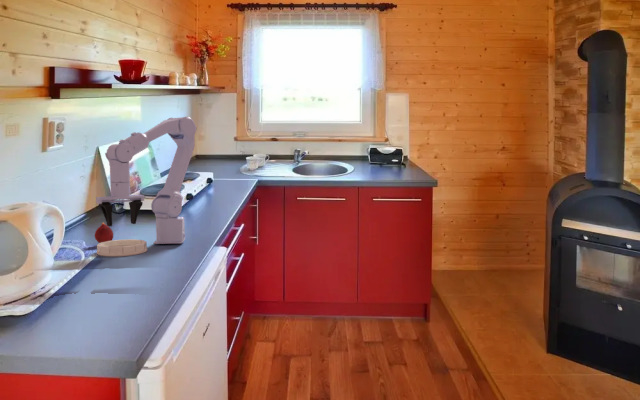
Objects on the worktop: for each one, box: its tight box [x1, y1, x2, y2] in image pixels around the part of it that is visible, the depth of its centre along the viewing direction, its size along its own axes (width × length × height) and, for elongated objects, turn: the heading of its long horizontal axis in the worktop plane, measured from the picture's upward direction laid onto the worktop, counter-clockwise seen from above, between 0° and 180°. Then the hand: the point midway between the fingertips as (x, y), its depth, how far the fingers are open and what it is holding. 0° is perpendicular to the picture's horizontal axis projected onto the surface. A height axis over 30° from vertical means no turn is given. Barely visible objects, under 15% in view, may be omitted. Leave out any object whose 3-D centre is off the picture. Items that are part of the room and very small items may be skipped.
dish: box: [96, 239, 148, 258], centre depth 155 cm, size 15×15×3 cm
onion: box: [94, 222, 114, 244], centre depth 165 cm, size 6×6×8 cm
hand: (121, 224), depth 154 cm, fingers open, 7 cm apart
